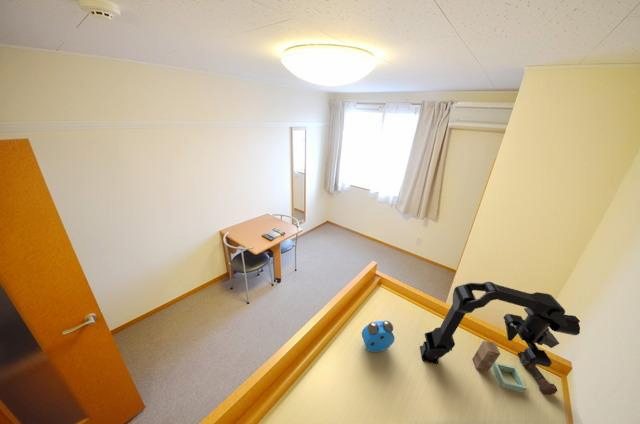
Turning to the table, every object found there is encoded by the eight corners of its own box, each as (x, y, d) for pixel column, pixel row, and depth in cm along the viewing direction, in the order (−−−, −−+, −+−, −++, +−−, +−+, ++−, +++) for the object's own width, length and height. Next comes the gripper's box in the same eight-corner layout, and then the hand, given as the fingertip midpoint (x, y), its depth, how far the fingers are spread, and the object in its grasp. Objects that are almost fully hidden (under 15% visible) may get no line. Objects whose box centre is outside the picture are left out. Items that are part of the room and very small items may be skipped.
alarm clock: (385, 337, 105) (392, 316, 98) (391, 350, 100) (398, 328, 93) (359, 341, 103) (364, 319, 96) (364, 355, 97) (369, 333, 91)
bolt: (518, 358, 101) (547, 397, 88) (511, 354, 101) (538, 392, 87) (530, 351, 99) (561, 390, 86) (522, 347, 98) (552, 385, 85)
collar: (500, 386, 89) (503, 382, 88) (491, 366, 96) (494, 362, 95) (523, 392, 88) (526, 388, 86) (512, 371, 94) (515, 366, 93)
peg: (476, 369, 94) (488, 350, 88) (472, 359, 98) (483, 340, 92) (487, 372, 94) (500, 353, 88) (483, 361, 97) (495, 343, 92)
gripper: (582, 356, 70) (556, 383, 78) (543, 308, 87) (524, 334, 94) (542, 348, 72) (520, 374, 79) (511, 302, 89) (495, 328, 96)
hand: (515, 351), depth 87 cm, fingers open, 9 cm apart
